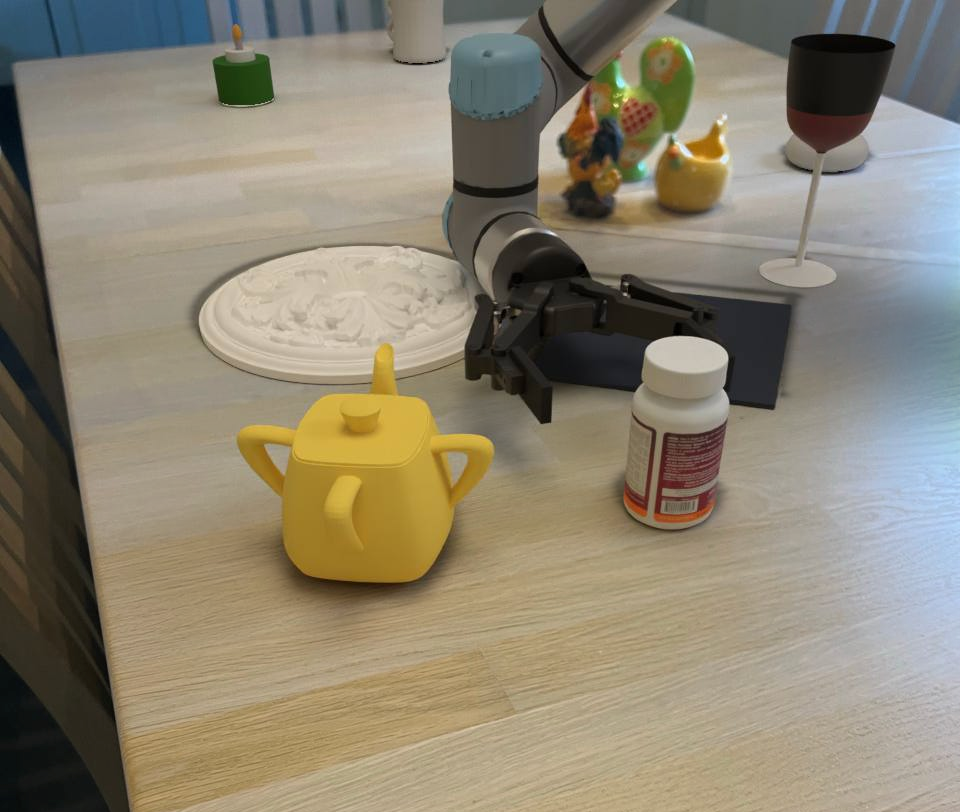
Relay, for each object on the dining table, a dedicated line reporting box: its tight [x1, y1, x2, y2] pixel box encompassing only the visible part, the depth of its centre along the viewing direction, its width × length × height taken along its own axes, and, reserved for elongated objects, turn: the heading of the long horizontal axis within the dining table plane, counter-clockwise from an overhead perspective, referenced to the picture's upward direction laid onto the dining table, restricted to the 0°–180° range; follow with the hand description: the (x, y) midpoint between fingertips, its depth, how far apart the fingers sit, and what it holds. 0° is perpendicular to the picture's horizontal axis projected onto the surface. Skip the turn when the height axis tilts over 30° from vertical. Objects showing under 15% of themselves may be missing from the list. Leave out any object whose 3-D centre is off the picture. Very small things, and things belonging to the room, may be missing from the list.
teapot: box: [236, 343, 495, 583], centre depth 64 cm, size 14×13×10 cm
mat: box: [534, 284, 793, 410], centre depth 89 cm, size 20×20×1 cm
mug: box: [385, 0, 447, 64], centre depth 170 cm, size 12×9×10 cm
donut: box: [785, 133, 870, 173], centre depth 126 cm, size 10×4×10 cm
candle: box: [212, 23, 275, 105], centre depth 150 cm, size 8×8×10 cm
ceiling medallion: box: [198, 245, 503, 385], centre depth 93 cm, size 28×28×3 cm
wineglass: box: [758, 33, 896, 288], centre depth 94 cm, size 8×9×20 cm
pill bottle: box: [623, 336, 730, 530], centre depth 66 cm, size 6×6×11 cm
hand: (639, 390), depth 69 cm, fingers open, 13 cm apart
